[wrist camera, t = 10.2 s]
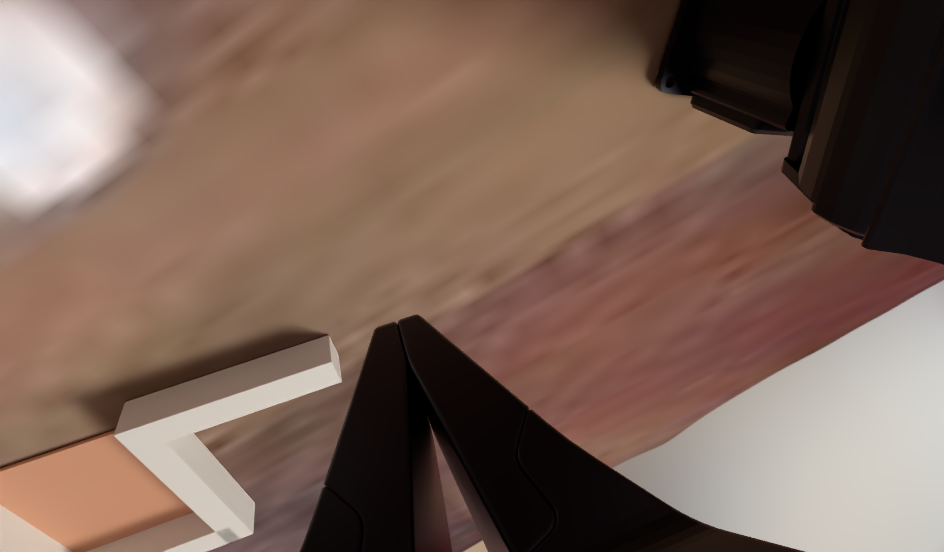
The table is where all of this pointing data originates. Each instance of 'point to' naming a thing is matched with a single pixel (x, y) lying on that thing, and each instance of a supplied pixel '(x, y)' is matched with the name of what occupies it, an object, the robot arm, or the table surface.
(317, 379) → the white flat frame
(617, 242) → the table surface
